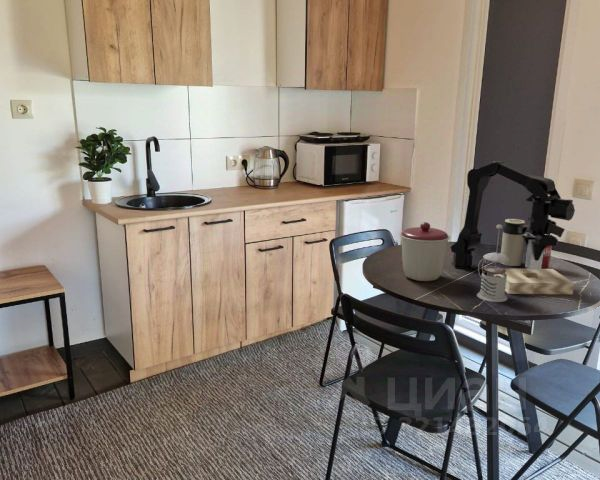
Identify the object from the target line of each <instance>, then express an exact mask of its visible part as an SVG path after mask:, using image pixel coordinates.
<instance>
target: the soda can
mask: <svg viewBox="0 0 600 480" xmlns="http://www.w3.org/2000/svg"><path fill="white" fill-rule="evenodd" d="M552 247H553V246H547V247H545V249H544V252H543V259H542V267H541V269H550V263H551V257H552V256H551V254H552Z"/></svg>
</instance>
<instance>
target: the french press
mask: <svg viewBox="0 0 600 480" xmlns="http://www.w3.org/2000/svg"><path fill="white" fill-rule="evenodd" d="M495 226H496V229H498V233H497V240H500V239H499V237H500V230H501V229H502V230H503V225H502V224H497V225H495ZM498 246H499V241H497V243H496V249H498ZM508 260H509V258H508V257H507V256H505V255H503V254H501V252H498V250H495V252H490V253H486V254H484V255H483V256H482V259H481V260H480V261H479V263H478V266H477V267H478V270H477V272H478V275H479V277H480V278H481V279H480V290H479V291H478V292H477V293H476V297H478V298H479V299H481V300H484V301H486V302H492V303H501V302H502V303H503V302H506V301H507V300H508V297H507V295H505V294H506V291H505V285H506V279H507V274H506V273H505V272H506V270H505V269H506V268H504V267H500V266H497V263H500V264H501V262H508ZM481 262H482V266H481V274H480V265H481V264H480V263H481ZM490 262H493V263H494V266H493V265H487V266H484V264H488V263H490ZM495 274H501V275H503V276H504V277H501V276H494V275H495Z"/></svg>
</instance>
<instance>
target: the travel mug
mask: <svg viewBox="0 0 600 480" xmlns="http://www.w3.org/2000/svg"><path fill="white" fill-rule="evenodd" d="M504 221H505V225H504V226H503V227H502V238H501V247H500V253H501V254H503V255H505V256H507V257H508V258H509V260H508V262H501V263H500V264H501V265H503V266H507V267H519V266H521V265H522V257H523V251H524V250H523V248H524V240H523V237H522V236H524V232H523V234H520V233H518V227H520V226H521V225H525V224H526V221H525V220H522V219H518V218H507V219H505V220H504Z"/></svg>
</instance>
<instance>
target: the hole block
mask: <svg viewBox="0 0 600 480" xmlns="http://www.w3.org/2000/svg"><path fill="white" fill-rule="evenodd" d="M504 269H505V270H506V272H505V273H506V274H507V279H506V285H505V293H507V294H509V295H510V294H512V295H515V294H516V295H573V294H574V288H575V282H573V281H572V280H570V279H569V278H567V277H566V276H565V275H562V274H561V273H559V272H558V271H557V270H555V269H554V268H549V269H541V270H529V269H528V268H504ZM494 276H501V277H504V276H503V275H501V274H495V275H494Z"/></svg>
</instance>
